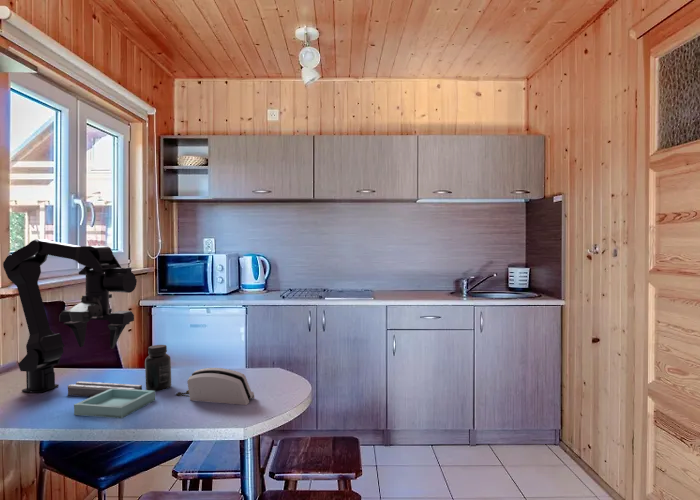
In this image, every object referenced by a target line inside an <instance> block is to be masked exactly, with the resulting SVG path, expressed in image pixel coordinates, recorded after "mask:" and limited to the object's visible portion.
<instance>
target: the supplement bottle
mask: <svg viewBox="0 0 700 500" xmlns="http://www.w3.org/2000/svg"><path fill="white" fill-rule="evenodd" d="M147 349H148V356H146V358H145V360H144V368H145V369H144V373H145V376H144V378H145V390H152V391H155V392H159V391H160V392H161V391H166V390H168V389H170V388H171V387H172V362H171V361H172V360H171V356H170V355H169V354H168V353H167V351H168V349H167V345H166V344H156V345H151V346H148V348H147Z"/></svg>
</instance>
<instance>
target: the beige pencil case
mask: <svg viewBox="0 0 700 500" xmlns="http://www.w3.org/2000/svg"><path fill="white" fill-rule="evenodd" d="M187 389H188V390H189V394H188V395H189V396H190V397H189V400H190V401H191V402H192V401H194V402H204V403H205V402H207V403H217V404H230V405H240V406H241V405H242V406H243V405H245V406H247V405H249V404H250V399H255V397H256V396H255V392H254V391H251V387H250V385H249V382H248V379H247V377H246V375H245V374H244V373H242V372H241V371H240V372H239V371H236V370H233V369H230V368H229V369H227V368H224V367H223V368H221V367H208V368H207V367H205V368H201V369H197V370H195V371H194V372H192V373H191V375H190V376H189V377H188V379H187Z"/></svg>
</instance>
